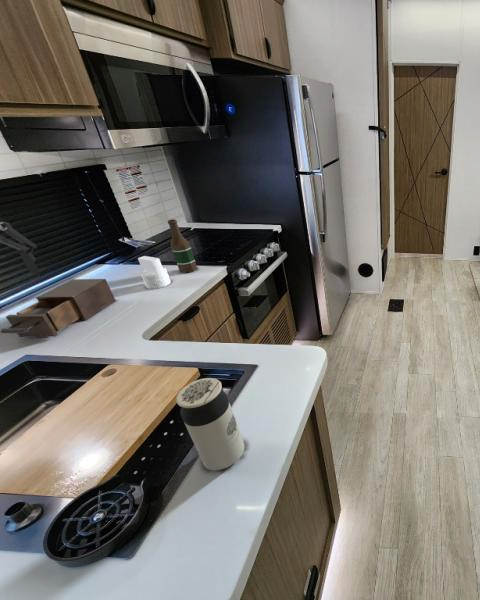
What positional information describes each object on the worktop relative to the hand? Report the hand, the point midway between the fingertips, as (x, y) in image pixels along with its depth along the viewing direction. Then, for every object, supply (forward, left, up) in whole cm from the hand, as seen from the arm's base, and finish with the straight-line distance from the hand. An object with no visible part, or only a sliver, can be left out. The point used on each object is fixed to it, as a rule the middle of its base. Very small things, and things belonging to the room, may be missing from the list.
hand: (9, 281), depth 100 cm
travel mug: (+80, -46, -20) cm, 95 cm away
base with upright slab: (+14, +39, -20) cm, 46 cm away
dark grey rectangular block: (0, +4, -18) cm, 18 cm away
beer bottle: (+19, +54, -20) cm, 60 cm away
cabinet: (0, +17, -20) cm, 26 cm away
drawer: (0, +2, -19) cm, 19 cm away
